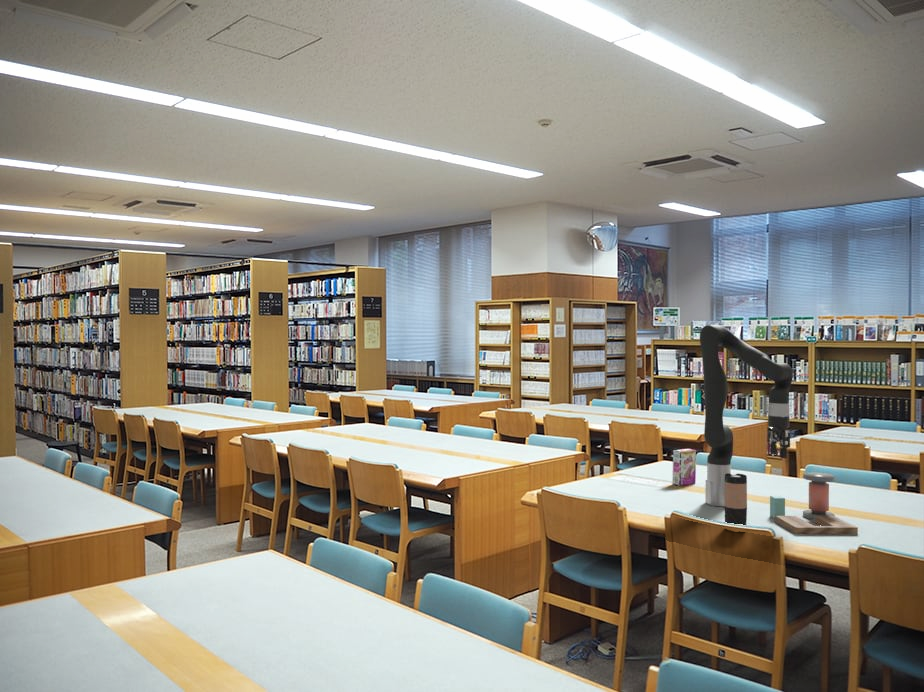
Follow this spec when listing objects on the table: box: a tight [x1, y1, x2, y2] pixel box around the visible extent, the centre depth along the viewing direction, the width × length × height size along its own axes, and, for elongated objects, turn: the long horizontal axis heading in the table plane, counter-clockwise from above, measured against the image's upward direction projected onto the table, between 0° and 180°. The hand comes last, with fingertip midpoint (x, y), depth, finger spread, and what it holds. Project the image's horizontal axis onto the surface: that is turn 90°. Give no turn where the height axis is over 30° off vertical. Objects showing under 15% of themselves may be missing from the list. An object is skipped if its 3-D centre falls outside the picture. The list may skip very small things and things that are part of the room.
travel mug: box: [723, 473, 748, 526], centre depth 249 cm, size 8×8×20 cm
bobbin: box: [802, 471, 836, 521], centre depth 265 cm, size 11×11×16 cm
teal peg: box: [769, 495, 786, 519], centre depth 266 cm, size 4×4×8 cm
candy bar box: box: [671, 448, 697, 487], centre depth 326 cm, size 11×5×16 cm, turn 122°
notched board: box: [774, 515, 859, 535], centre depth 251 cm, size 22×16×2 cm
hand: (778, 456), depth 265 cm, fingers open, 8 cm apart
